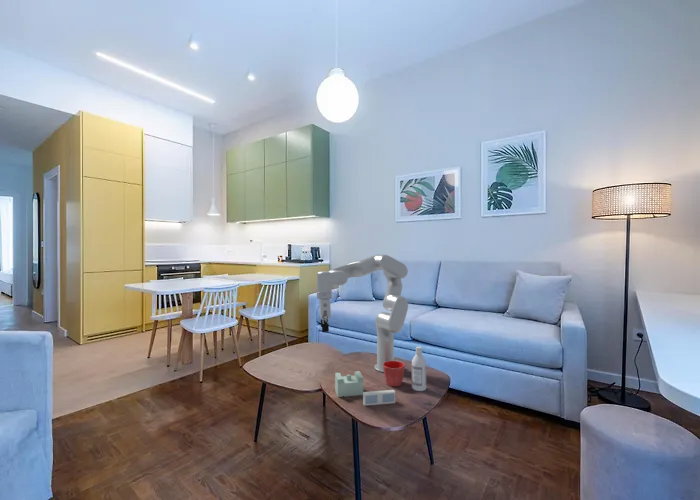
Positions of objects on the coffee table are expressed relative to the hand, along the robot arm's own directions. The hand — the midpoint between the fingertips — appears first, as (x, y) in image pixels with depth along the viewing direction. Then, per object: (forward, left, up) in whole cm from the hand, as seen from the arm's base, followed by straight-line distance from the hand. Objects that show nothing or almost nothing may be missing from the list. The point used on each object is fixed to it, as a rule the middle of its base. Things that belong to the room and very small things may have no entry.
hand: (324, 329), depth 160 cm
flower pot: (-34, +8, -27) cm, 44 cm away
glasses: (-21, +26, -27) cm, 43 cm away
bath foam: (-44, +16, -27) cm, 54 cm away
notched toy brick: (-10, +13, -27) cm, 32 cm away
